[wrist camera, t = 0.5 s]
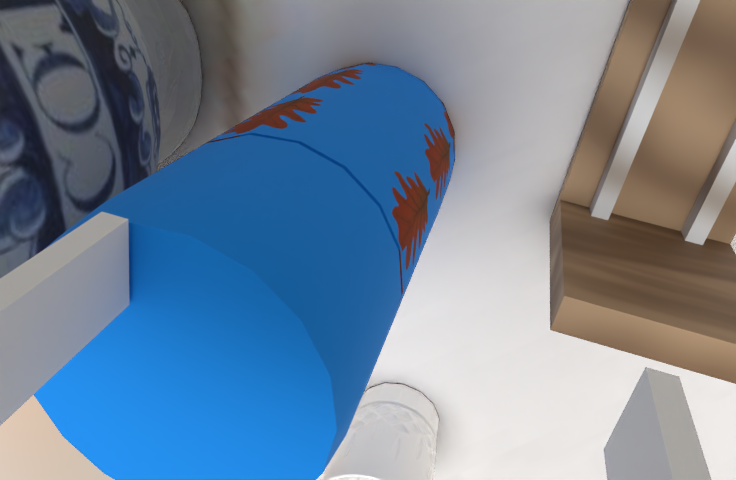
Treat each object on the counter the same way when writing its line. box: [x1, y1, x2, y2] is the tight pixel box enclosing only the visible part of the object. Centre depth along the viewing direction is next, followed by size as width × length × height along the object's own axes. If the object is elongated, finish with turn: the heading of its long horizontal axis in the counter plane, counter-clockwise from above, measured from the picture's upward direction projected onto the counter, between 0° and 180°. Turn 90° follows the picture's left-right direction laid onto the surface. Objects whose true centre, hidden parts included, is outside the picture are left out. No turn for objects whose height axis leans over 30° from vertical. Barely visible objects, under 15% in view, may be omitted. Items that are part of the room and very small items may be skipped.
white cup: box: [321, 383, 439, 480], centre depth 46 cm, size 8×8×10 cm
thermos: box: [34, 63, 455, 480], centre depth 29 cm, size 11×11×25 cm
